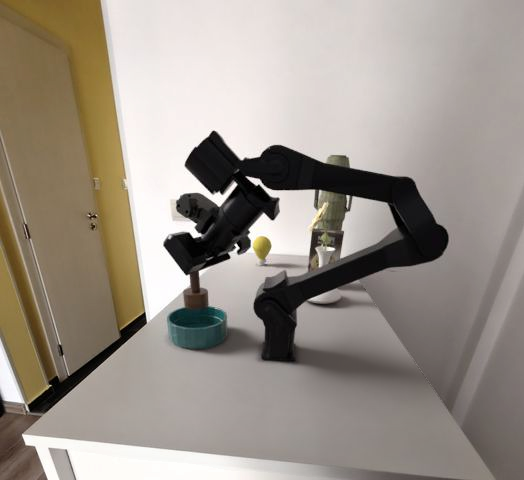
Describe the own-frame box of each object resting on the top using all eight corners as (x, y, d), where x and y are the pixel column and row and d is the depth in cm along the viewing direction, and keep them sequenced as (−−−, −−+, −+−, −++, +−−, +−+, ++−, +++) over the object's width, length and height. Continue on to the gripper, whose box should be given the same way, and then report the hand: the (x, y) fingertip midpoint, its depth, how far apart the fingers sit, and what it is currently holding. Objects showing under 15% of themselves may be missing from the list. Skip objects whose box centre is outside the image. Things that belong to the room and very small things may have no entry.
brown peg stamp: (213, 306, 66) (210, 255, 62) (192, 311, 64) (187, 259, 59) (200, 299, 70) (197, 250, 65) (180, 304, 67) (175, 254, 62)
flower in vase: (307, 290, 98) (317, 197, 86) (345, 297, 93) (361, 200, 81) (289, 303, 88) (296, 200, 76) (330, 313, 83) (345, 204, 71)
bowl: (221, 351, 64) (221, 330, 62) (161, 347, 65) (158, 326, 63) (231, 325, 75) (230, 306, 73) (178, 322, 75) (177, 303, 73)
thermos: (309, 267, 120) (321, 155, 103) (342, 271, 117) (360, 156, 100) (304, 273, 113) (315, 154, 96) (339, 278, 109) (357, 155, 92)
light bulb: (250, 262, 123) (250, 234, 118) (267, 262, 125) (268, 234, 120) (255, 267, 117) (255, 238, 112) (273, 266, 119) (274, 237, 114)
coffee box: (305, 286, 101) (310, 231, 93) (307, 280, 106) (313, 227, 98) (335, 289, 99) (343, 233, 91) (336, 283, 104) (344, 229, 97)
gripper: (237, 174, 61) (194, 231, 71) (165, 175, 46) (123, 246, 56) (273, 224, 61) (225, 273, 71) (213, 240, 47) (164, 299, 57)
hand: (188, 272), depth 64 cm, fingers closed on brown peg stamp
